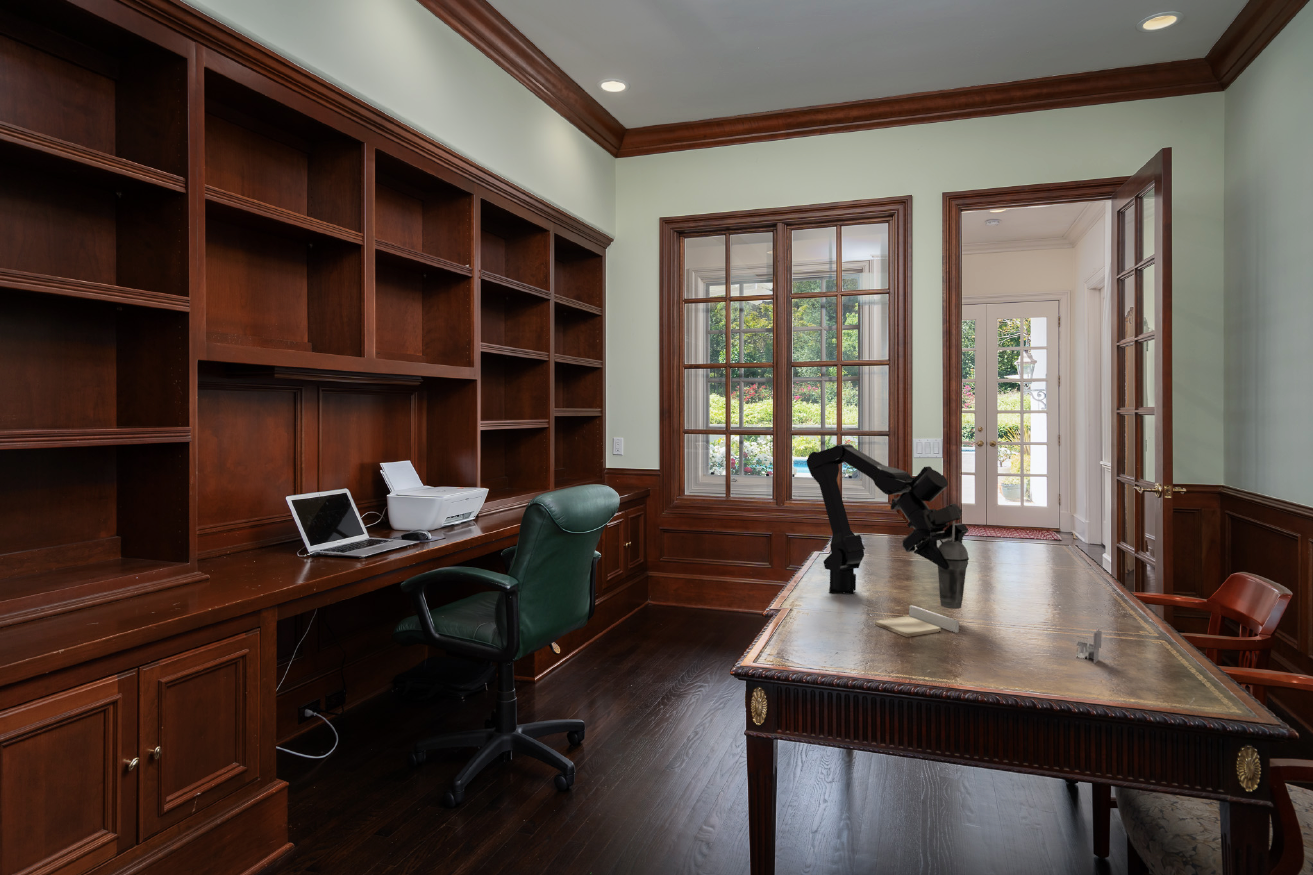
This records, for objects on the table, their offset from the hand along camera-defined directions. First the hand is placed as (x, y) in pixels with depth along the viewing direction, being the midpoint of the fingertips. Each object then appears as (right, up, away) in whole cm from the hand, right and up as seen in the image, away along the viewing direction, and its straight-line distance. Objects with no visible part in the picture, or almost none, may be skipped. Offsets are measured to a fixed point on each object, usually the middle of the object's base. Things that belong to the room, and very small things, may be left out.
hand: (957, 566), depth 167 cm
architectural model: (+11, -15, -25) cm, 31 cm away
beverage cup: (-1, -10, +2) cm, 10 cm away
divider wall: (-6, -13, 0) cm, 14 cm away
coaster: (-13, -13, -3) cm, 19 cm away
